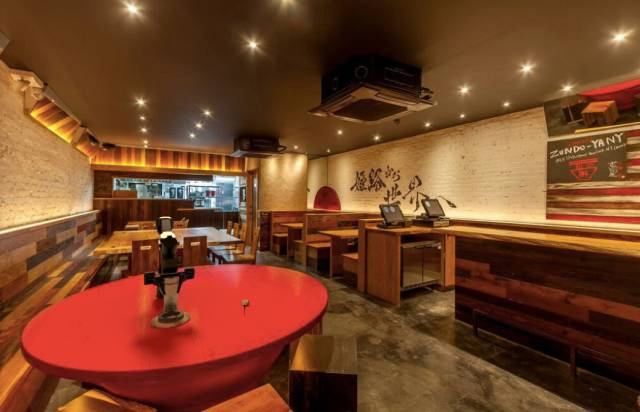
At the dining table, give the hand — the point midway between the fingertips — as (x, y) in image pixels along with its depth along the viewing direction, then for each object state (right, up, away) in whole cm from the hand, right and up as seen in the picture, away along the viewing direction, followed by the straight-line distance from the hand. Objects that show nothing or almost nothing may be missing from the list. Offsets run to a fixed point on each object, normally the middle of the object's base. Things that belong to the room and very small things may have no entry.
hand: (171, 294), depth 116 cm
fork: (+25, -12, +15) cm, 32 cm away
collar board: (-1, -11, +1) cm, 11 cm away
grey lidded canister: (-1, -7, +1) cm, 7 cm away
